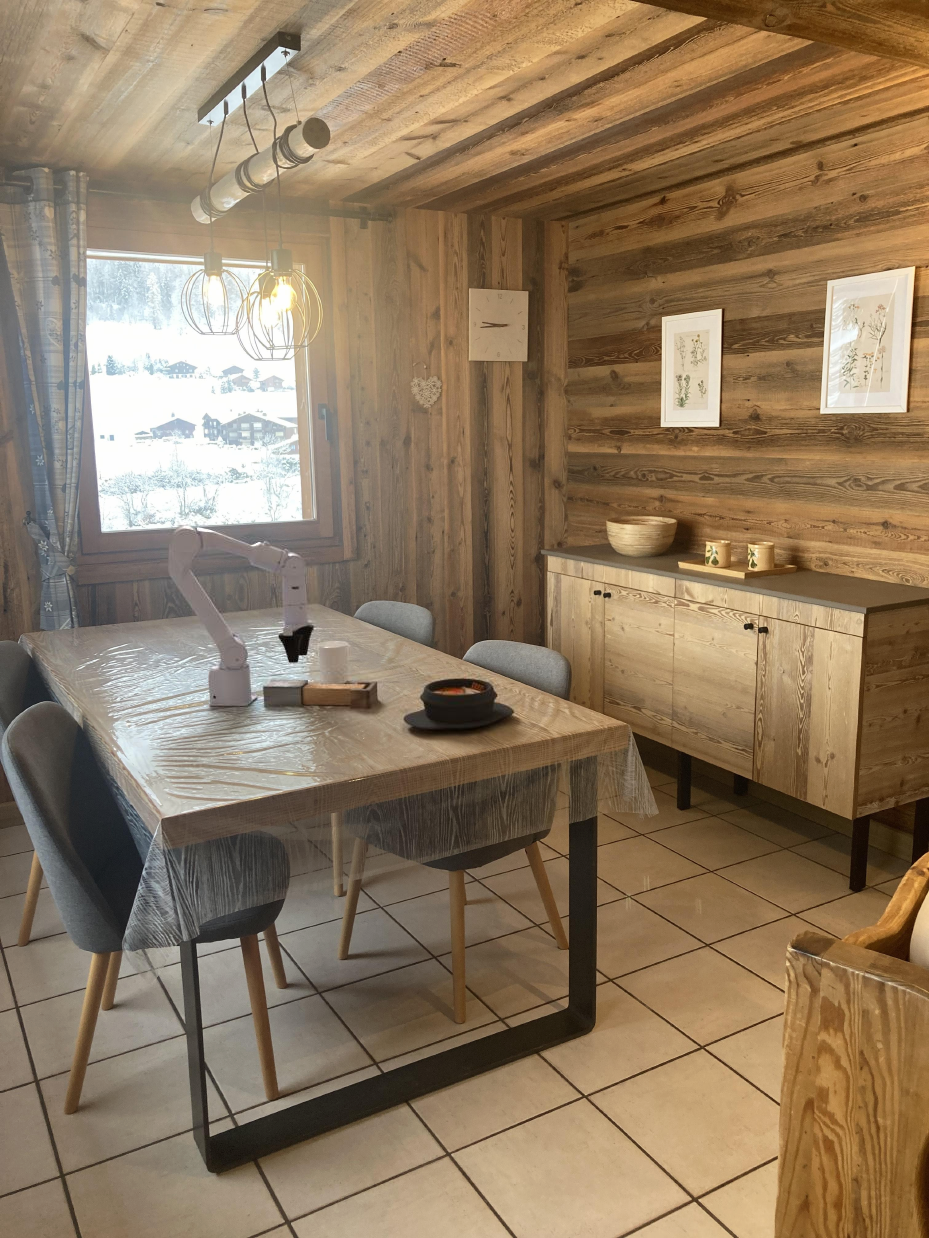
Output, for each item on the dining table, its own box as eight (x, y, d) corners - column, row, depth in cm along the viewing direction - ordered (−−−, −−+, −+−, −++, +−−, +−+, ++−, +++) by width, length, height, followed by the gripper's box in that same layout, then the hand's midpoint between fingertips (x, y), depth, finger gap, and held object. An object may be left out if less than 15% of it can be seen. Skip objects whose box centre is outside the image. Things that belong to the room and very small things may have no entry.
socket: (351, 708, 228) (350, 690, 227) (358, 699, 236) (358, 681, 235) (370, 708, 228) (369, 690, 227) (377, 699, 235) (376, 681, 234)
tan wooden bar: (296, 704, 232) (295, 688, 231) (301, 699, 236) (300, 683, 235) (362, 705, 230) (361, 688, 229) (366, 700, 234) (365, 684, 233)
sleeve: (264, 706, 231) (263, 686, 231) (273, 698, 238) (271, 679, 237) (301, 706, 230) (300, 687, 229) (308, 699, 237) (307, 679, 236)
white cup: (321, 687, 248) (319, 648, 246) (317, 679, 256) (315, 642, 254) (352, 684, 250) (350, 646, 248) (347, 677, 258) (345, 639, 256)
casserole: (489, 705, 229) (489, 670, 227) (530, 725, 212) (529, 688, 211) (390, 721, 218) (389, 684, 216) (424, 743, 201) (423, 704, 200)
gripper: (302, 609, 228) (305, 665, 230) (319, 598, 242) (322, 652, 245) (273, 609, 229) (276, 665, 231) (291, 598, 243) (294, 651, 245)
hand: (298, 658), depth 238 cm, fingers open, 7 cm apart
